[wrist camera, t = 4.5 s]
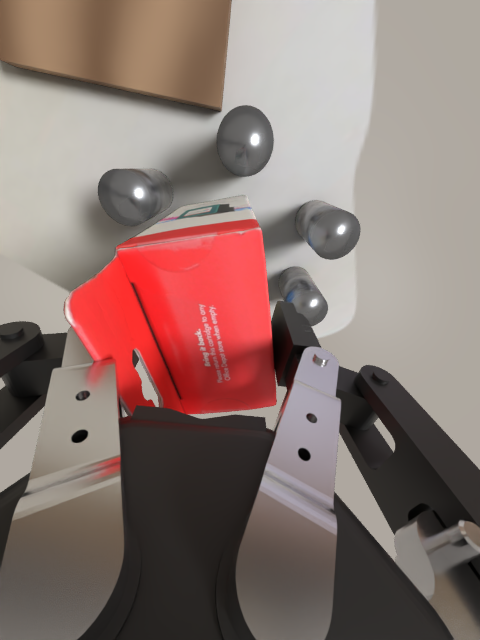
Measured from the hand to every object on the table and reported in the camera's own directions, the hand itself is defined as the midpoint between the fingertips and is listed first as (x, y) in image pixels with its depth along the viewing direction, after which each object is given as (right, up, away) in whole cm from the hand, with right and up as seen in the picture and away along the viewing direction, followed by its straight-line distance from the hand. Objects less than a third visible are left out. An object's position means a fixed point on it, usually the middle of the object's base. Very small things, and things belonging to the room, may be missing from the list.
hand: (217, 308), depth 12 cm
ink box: (0, +5, +7) cm, 9 cm away
